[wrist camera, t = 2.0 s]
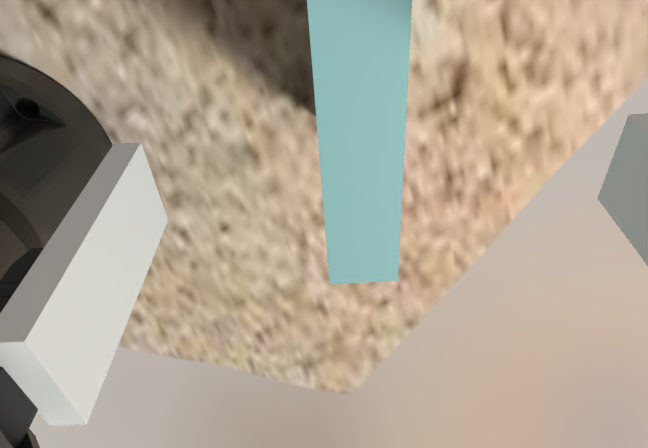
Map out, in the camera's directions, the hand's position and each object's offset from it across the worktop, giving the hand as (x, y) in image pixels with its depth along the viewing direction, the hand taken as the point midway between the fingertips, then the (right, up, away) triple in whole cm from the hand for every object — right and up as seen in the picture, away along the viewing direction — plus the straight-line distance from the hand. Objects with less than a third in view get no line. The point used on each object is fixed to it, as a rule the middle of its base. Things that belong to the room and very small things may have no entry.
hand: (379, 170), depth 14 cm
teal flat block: (0, +12, +14) cm, 18 cm away
